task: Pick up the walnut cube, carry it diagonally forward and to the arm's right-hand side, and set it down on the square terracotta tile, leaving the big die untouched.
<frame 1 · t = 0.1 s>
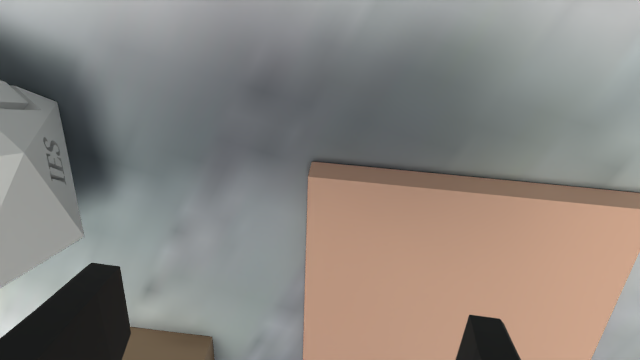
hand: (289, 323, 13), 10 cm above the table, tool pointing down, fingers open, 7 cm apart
tile: (450, 295, 25), on the table
die: (6, 128, 23), on the table
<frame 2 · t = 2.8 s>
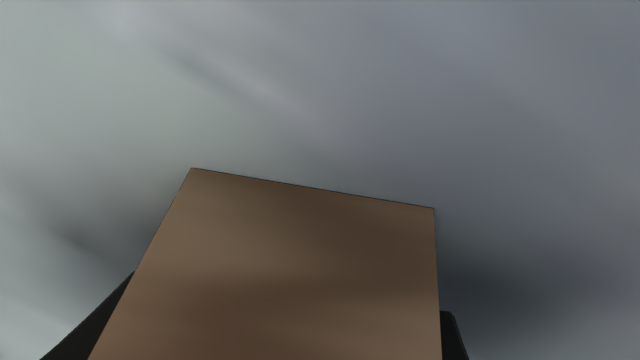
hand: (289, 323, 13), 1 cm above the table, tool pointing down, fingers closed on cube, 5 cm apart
cube: (299, 276, 14), on the table, touching gripper
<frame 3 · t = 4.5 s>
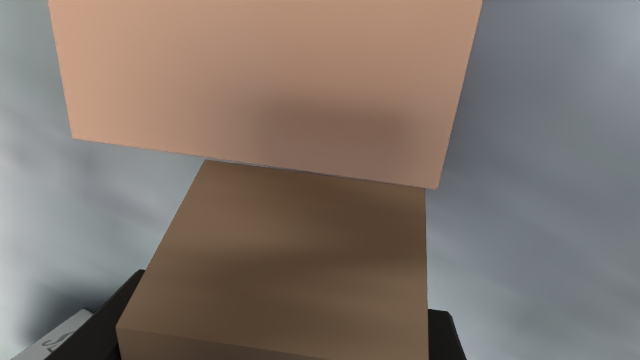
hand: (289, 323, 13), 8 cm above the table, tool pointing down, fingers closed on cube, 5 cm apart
die: (124, 347, 28), on the table
cube: (307, 256, 15), point 6 cm above the table, touching gripper
when the fingers open (4 cm above the table, at t = 6.6 s): cube stays where it is, resting on tile.
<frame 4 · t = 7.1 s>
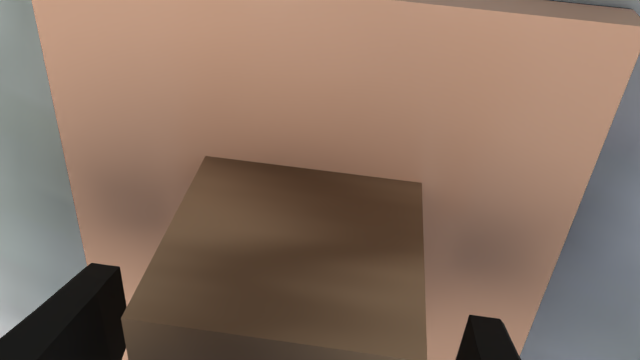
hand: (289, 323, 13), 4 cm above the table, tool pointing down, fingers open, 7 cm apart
tile: (313, 210, 16), on the table
cube: (306, 251, 15), point 1 cm above the table, touching tile
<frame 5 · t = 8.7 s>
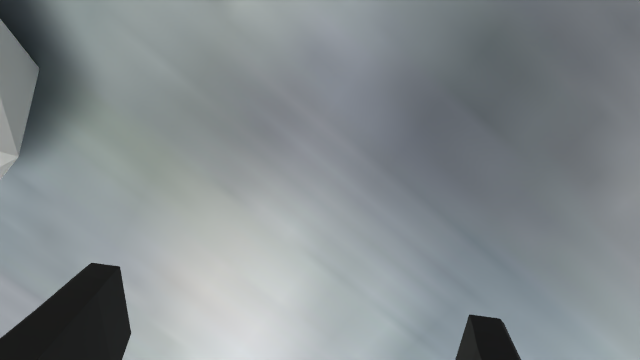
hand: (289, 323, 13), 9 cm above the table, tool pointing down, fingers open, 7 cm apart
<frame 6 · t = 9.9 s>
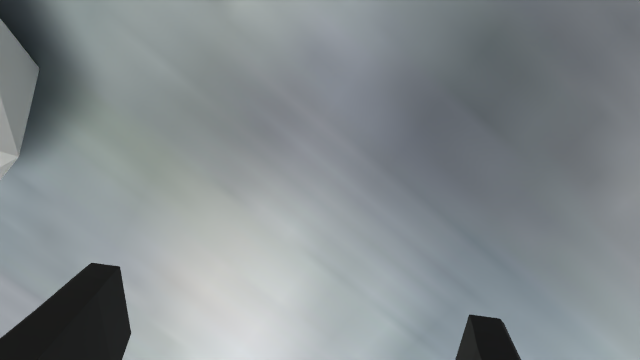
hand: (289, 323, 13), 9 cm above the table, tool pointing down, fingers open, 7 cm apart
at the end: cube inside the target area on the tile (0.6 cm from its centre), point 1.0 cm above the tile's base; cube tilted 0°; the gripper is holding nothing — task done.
